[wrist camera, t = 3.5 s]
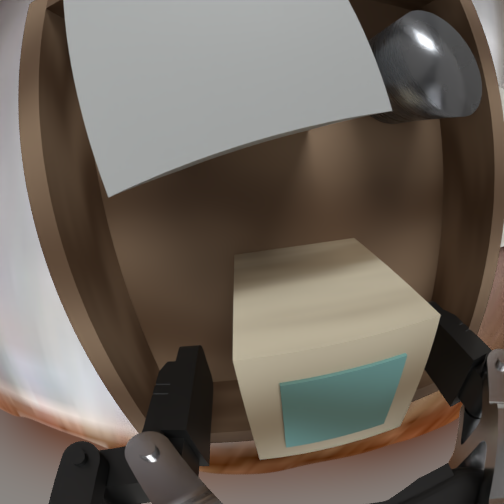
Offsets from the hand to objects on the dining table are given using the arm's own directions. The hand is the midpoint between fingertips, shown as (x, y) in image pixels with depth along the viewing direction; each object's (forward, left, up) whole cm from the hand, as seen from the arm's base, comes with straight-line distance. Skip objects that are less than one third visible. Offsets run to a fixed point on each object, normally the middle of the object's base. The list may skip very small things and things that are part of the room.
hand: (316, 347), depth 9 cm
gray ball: (-9, +5, -3) cm, 11 cm away
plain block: (-9, -2, -3) cm, 10 cm away
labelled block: (0, 0, -3) cm, 3 cm away
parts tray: (-5, 0, -4) cm, 6 cm away
